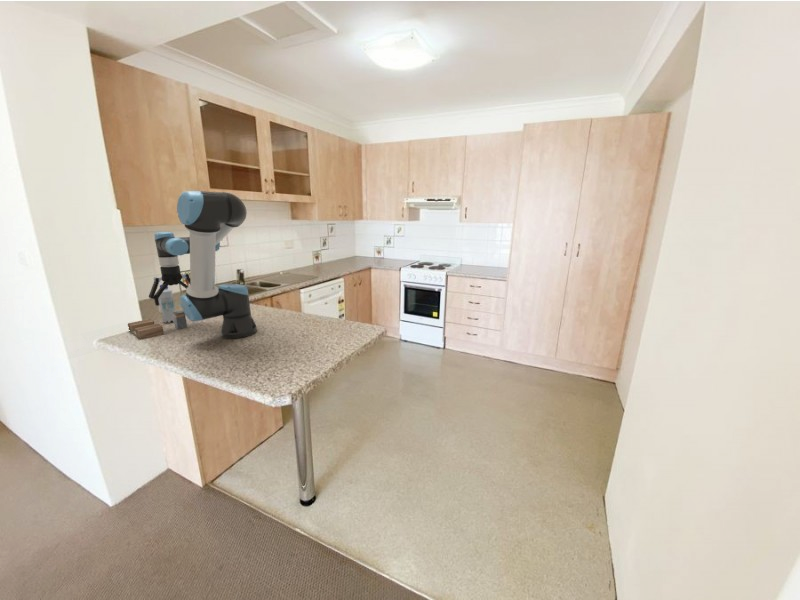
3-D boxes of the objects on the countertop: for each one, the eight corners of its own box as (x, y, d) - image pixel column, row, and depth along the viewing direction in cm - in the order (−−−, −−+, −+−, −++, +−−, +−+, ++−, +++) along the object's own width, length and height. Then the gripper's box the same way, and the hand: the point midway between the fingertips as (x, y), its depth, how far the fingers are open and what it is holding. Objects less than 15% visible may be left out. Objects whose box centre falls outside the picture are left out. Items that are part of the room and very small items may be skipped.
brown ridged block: (164, 334, 152) (162, 326, 151) (140, 339, 145) (138, 331, 144) (151, 326, 163) (150, 318, 162) (129, 331, 156) (127, 323, 155)
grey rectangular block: (187, 327, 161) (184, 311, 159) (178, 329, 158) (175, 313, 156) (184, 325, 164) (181, 310, 162) (175, 327, 161) (172, 312, 159)
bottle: (164, 320, 172) (156, 283, 167) (179, 319, 174) (172, 282, 169) (161, 324, 166) (153, 286, 161) (176, 322, 168) (169, 284, 163)
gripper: (195, 261, 165) (201, 302, 170) (134, 268, 146) (144, 313, 152) (201, 263, 160) (208, 304, 166) (139, 269, 142) (149, 316, 147)
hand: (177, 308), depth 159 cm, fingers open, 13 cm apart
